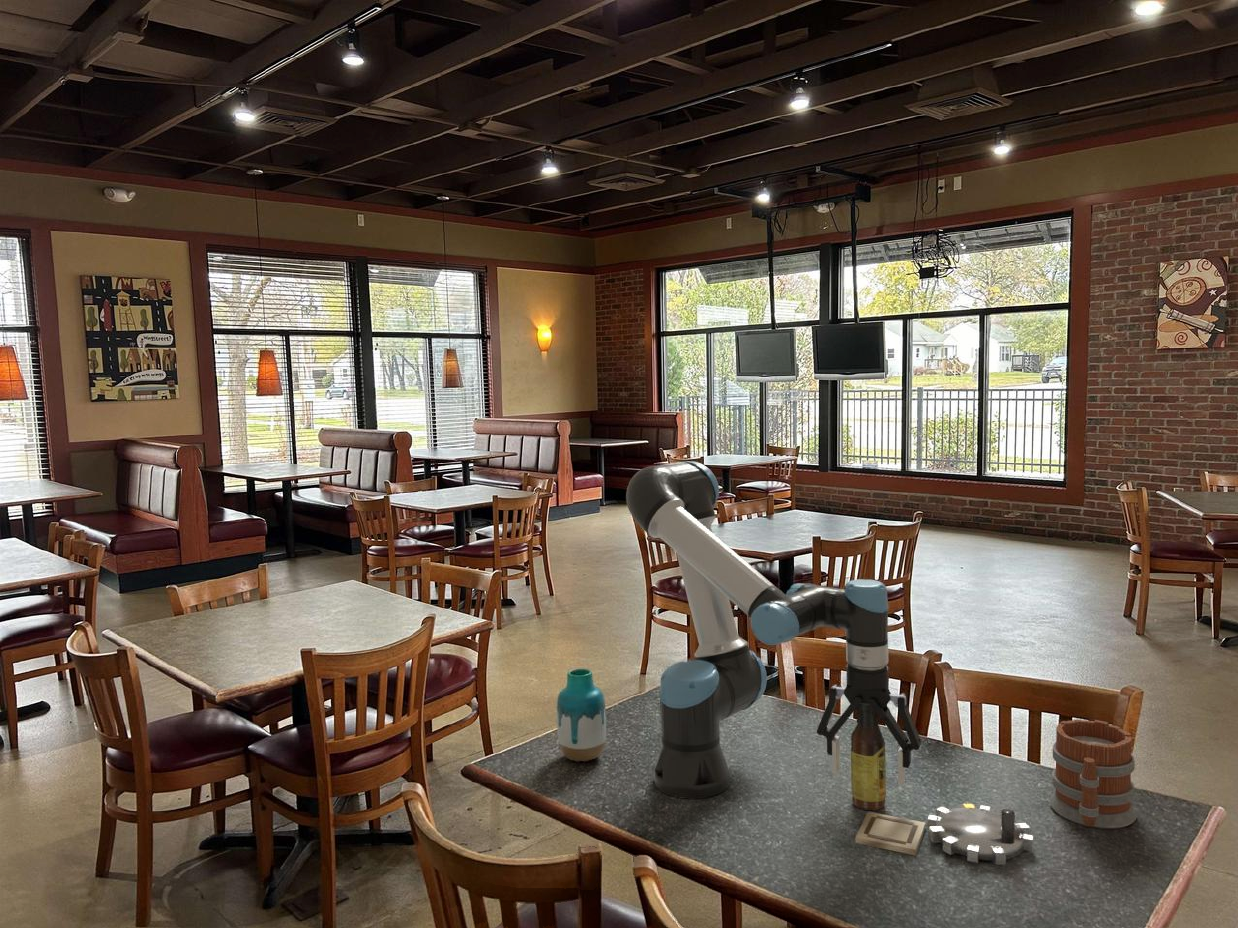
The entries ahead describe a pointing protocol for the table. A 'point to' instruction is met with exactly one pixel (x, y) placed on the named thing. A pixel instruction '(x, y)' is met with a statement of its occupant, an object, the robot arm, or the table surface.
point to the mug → (1093, 774)
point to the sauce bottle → (868, 761)
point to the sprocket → (980, 833)
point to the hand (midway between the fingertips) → (868, 777)
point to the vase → (581, 717)
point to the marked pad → (891, 833)
